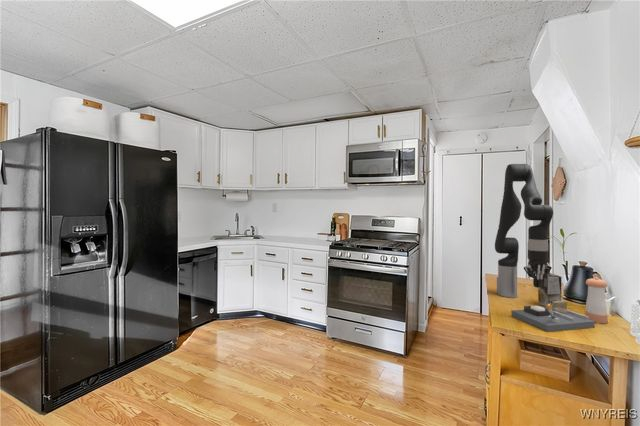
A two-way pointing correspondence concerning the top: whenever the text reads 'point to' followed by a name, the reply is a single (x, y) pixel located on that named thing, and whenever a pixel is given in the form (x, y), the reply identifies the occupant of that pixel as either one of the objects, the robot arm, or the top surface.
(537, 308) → the push button
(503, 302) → the top surface
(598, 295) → the pepper shaker
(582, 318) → the control panel
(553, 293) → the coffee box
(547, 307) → the toggle lever
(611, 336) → the top surface
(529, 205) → the robot arm
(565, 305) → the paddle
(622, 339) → the top surface
